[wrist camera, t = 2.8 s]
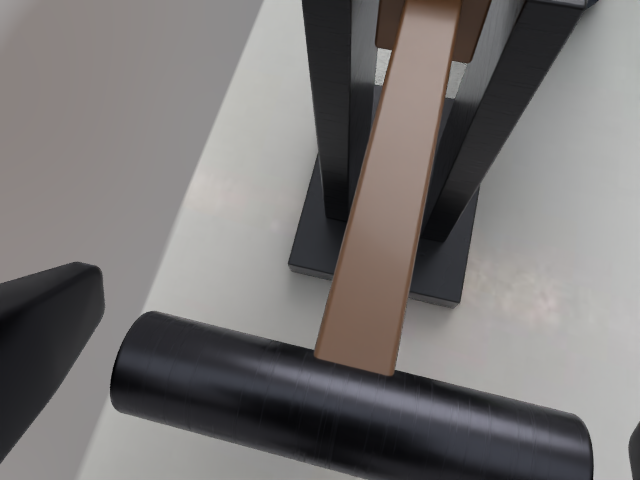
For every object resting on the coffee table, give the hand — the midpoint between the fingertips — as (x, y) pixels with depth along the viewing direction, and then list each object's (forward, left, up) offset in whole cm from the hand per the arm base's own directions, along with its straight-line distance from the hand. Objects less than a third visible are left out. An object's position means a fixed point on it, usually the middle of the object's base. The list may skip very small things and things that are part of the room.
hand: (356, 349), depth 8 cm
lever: (+4, 0, -1) cm, 4 cm away
